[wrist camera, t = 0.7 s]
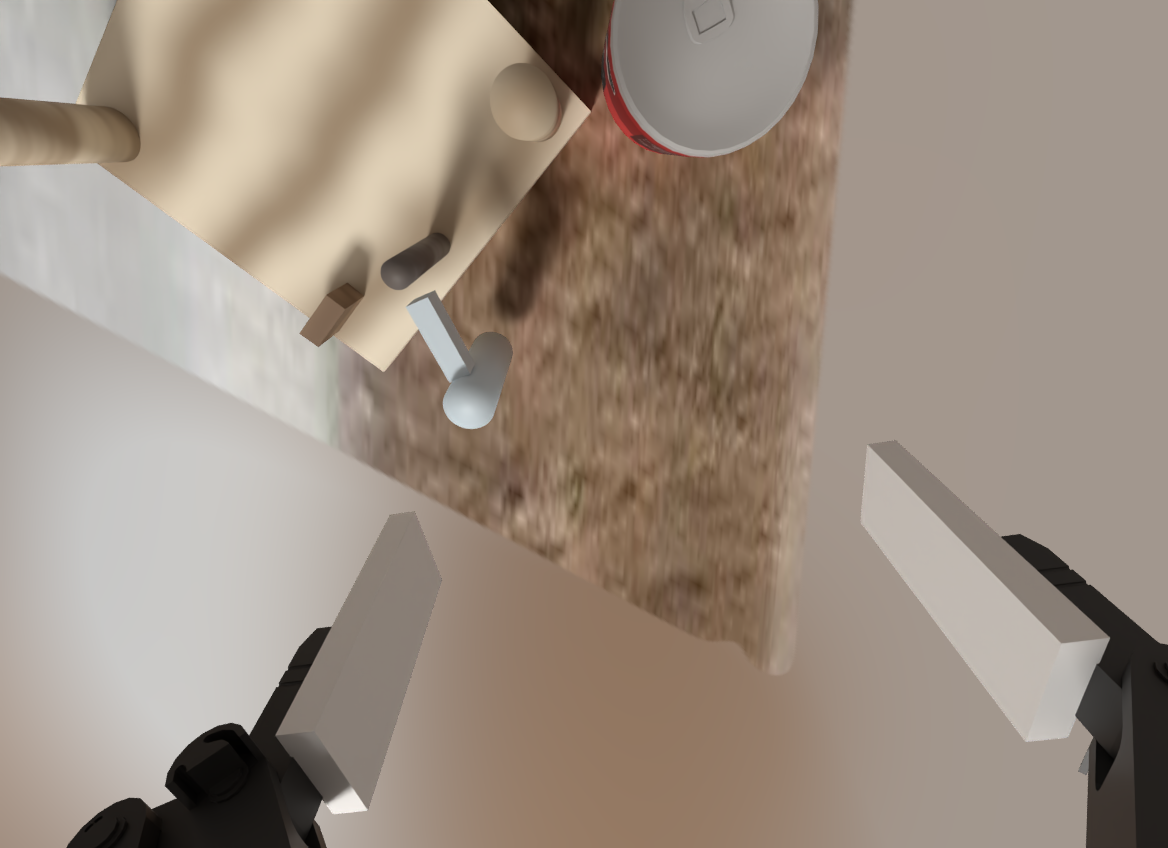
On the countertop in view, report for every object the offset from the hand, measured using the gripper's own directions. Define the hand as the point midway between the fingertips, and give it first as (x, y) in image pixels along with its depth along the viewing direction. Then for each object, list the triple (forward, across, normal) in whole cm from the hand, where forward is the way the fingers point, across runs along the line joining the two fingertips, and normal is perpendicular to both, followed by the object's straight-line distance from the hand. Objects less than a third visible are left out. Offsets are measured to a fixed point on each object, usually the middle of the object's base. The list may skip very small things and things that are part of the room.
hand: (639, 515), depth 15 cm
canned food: (+22, +6, +12) cm, 26 cm away
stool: (+22, -13, +13) cm, 29 cm away
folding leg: (+19, -8, +1) cm, 21 cm away
